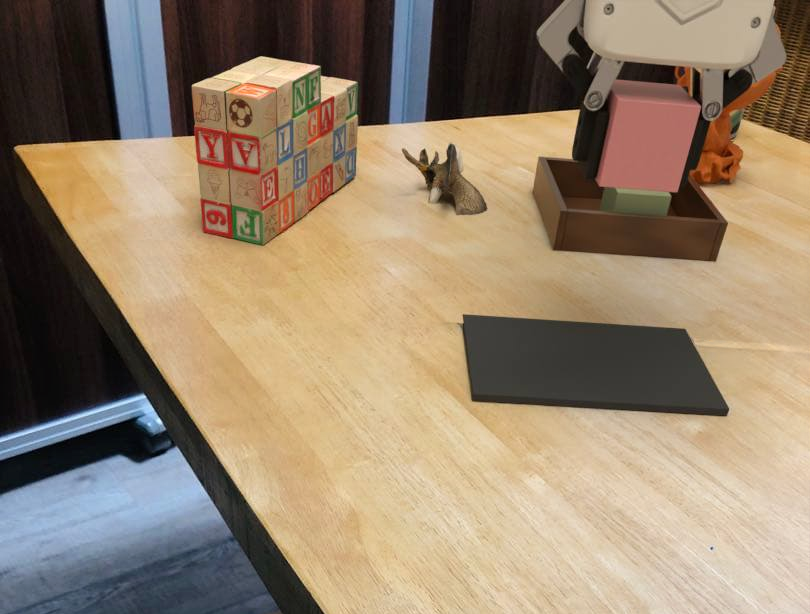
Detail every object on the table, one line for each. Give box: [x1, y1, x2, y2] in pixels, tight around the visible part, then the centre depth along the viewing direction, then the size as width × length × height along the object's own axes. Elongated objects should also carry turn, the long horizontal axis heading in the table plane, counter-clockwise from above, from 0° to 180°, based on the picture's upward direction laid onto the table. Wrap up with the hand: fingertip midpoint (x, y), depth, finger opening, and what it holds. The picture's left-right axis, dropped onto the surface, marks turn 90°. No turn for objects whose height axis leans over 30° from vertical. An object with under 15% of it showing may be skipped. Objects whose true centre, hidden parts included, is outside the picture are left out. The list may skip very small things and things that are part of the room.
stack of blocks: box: [191, 56, 359, 246], centre depth 81 cm, size 21×6×12 cm, turn 160°
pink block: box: [595, 79, 701, 193], centre depth 54 cm, size 5×5×5 cm
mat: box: [461, 313, 730, 417], centre depth 64 cm, size 18×12×1 cm, turn 91°
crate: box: [532, 155, 729, 263], centre depth 85 cm, size 15×15×4 cm
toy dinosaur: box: [674, 22, 784, 184], centre depth 95 cm, size 11×11×18 cm
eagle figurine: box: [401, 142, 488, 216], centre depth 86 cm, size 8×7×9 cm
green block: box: [599, 187, 672, 216], centre depth 81 cm, size 5×5×5 cm
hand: (630, 173), depth 55 cm, fingers closed on pink block, 5 cm apart
